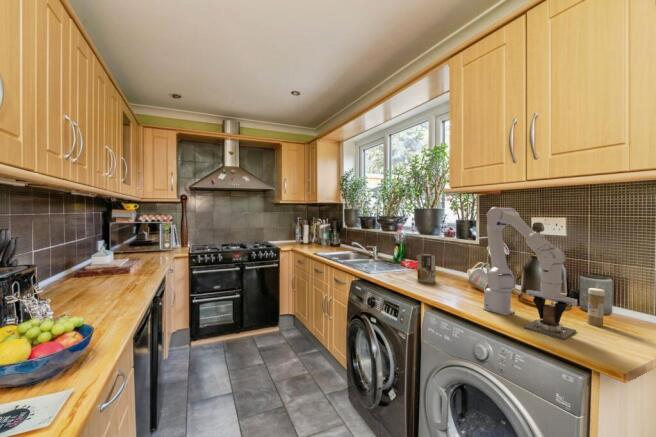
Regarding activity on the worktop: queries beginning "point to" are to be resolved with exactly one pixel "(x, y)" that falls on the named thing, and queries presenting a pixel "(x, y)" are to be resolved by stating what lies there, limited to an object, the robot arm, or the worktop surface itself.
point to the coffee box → (426, 268)
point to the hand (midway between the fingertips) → (549, 320)
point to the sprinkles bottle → (596, 306)
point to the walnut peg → (549, 315)
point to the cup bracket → (550, 329)
